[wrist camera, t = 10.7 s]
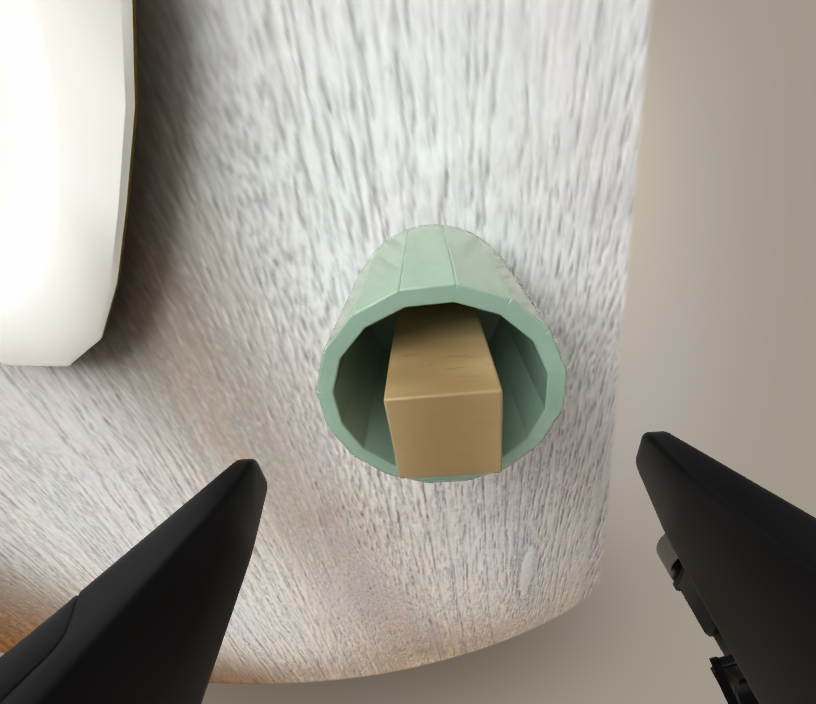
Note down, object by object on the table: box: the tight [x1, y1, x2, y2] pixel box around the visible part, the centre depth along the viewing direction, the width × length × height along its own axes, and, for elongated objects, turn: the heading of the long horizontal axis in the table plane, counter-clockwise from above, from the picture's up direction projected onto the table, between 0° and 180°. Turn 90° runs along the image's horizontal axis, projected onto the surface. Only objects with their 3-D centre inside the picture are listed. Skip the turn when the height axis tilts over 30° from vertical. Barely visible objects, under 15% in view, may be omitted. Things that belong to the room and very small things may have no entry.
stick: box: [384, 302, 503, 478], centre depth 12 cm, size 3×3×8 cm
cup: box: [317, 225, 567, 483], centre depth 13 cm, size 7×7×7 cm
